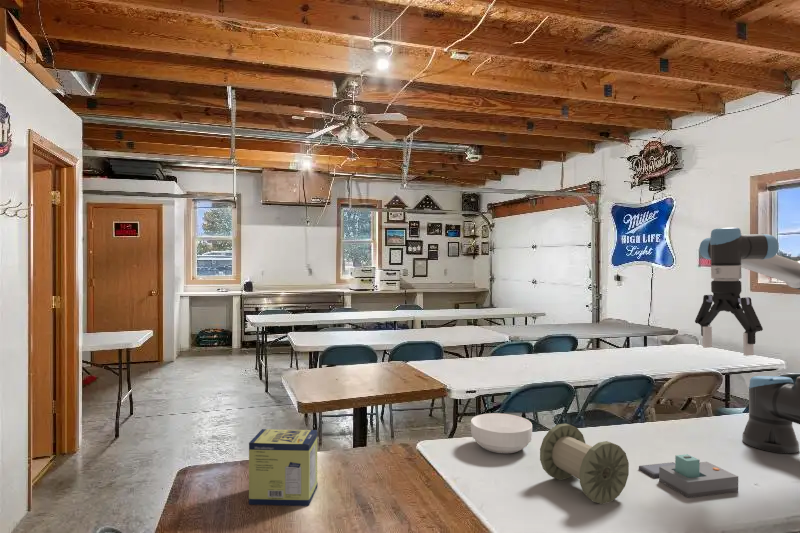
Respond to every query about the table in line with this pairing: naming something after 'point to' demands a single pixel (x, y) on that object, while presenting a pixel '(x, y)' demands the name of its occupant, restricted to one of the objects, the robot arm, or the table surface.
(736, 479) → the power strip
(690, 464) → the block
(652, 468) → the phone
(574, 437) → the spool
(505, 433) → the bowl
